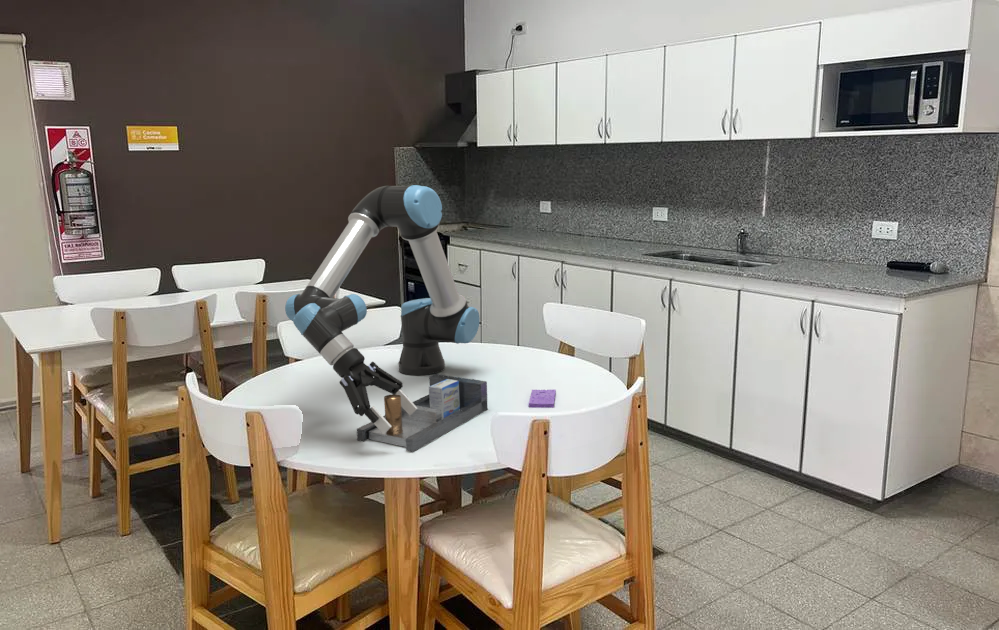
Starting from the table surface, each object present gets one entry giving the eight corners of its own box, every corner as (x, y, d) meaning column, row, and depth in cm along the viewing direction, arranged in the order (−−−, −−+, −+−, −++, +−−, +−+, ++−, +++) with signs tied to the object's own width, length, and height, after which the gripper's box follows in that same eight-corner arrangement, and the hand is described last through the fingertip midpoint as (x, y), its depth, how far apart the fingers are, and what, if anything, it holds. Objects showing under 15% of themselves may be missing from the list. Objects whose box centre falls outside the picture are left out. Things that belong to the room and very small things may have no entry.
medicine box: (443, 419, 199) (442, 388, 198) (429, 417, 202) (428, 385, 200) (460, 411, 206) (459, 380, 204) (447, 408, 208) (445, 378, 206)
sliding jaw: (369, 439, 186) (366, 396, 184) (404, 421, 198) (402, 381, 196) (408, 447, 180) (406, 403, 178) (442, 428, 192) (440, 387, 190)
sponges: (555, 395, 219) (555, 389, 218) (553, 409, 206) (553, 403, 206) (531, 395, 219) (531, 389, 219) (528, 409, 207) (528, 402, 207)
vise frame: (357, 440, 186) (355, 409, 184) (436, 401, 215) (435, 373, 213) (413, 452, 178) (411, 419, 176) (487, 409, 206) (486, 381, 205)
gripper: (360, 354, 198) (414, 413, 196) (305, 380, 175) (366, 448, 173) (377, 335, 195) (432, 396, 193) (323, 360, 172) (385, 428, 170)
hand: (401, 421), depth 183 cm, fingers open, 13 cm apart
